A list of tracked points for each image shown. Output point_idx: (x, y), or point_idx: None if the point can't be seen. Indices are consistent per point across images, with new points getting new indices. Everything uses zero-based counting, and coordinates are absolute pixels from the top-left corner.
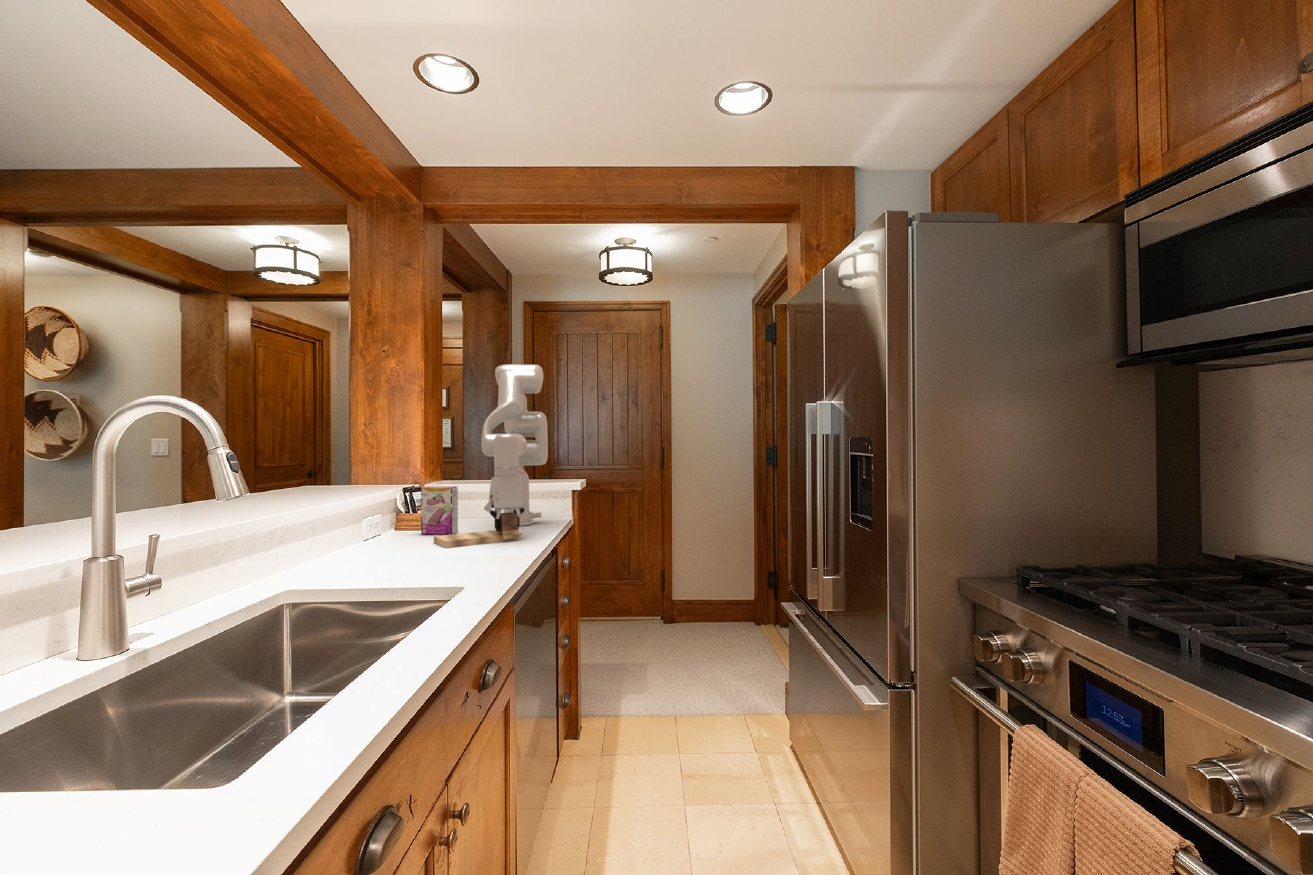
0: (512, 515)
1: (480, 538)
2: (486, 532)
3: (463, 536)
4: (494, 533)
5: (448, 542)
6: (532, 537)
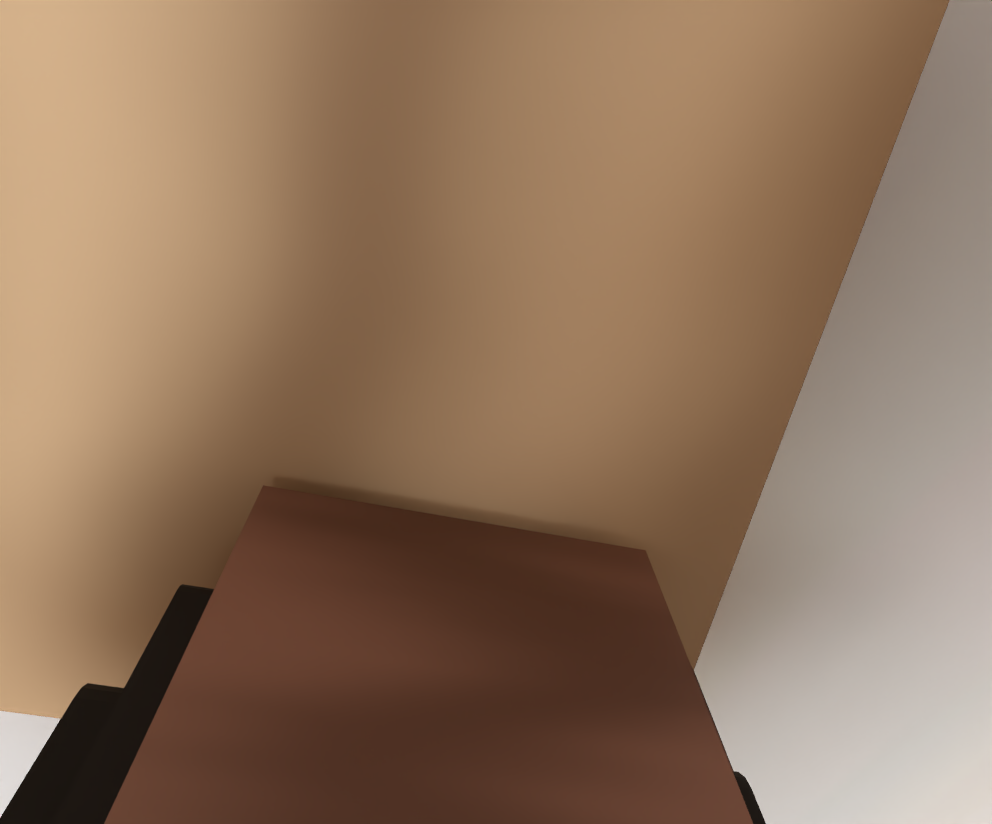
0: None
1: None
2: (155, 83)
3: None
4: (235, 419)
5: None
6: (880, 668)
